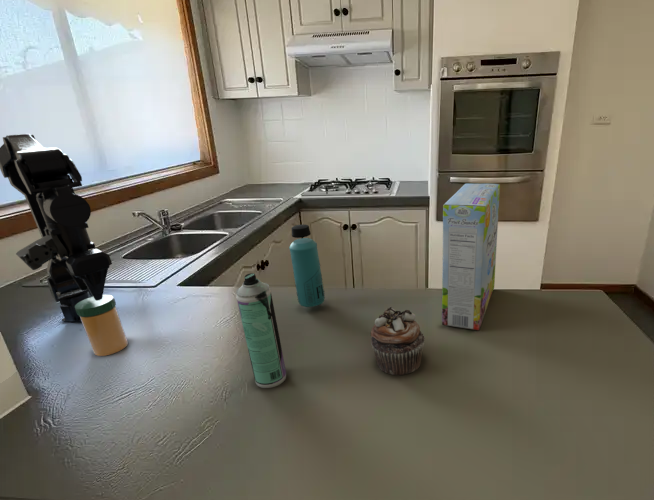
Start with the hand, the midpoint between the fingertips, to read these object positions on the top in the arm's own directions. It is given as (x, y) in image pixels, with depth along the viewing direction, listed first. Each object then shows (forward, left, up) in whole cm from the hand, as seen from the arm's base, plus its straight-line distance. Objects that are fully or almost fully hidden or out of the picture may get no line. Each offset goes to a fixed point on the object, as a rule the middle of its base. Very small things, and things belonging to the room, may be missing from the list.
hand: (91, 294), depth 85 cm
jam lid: (0, 0, -2) cm, 2 cm away
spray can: (+7, +40, -13) cm, 43 cm away
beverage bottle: (-21, +38, -13) cm, 45 cm away
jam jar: (0, 0, -12) cm, 12 cm away
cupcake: (0, +62, -13) cm, 63 cm away
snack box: (-23, +75, -13) cm, 79 cm away
